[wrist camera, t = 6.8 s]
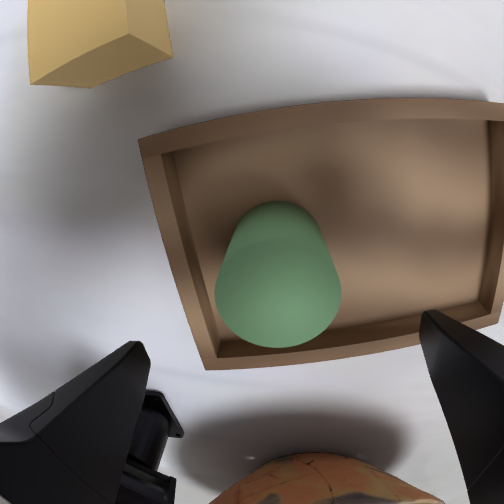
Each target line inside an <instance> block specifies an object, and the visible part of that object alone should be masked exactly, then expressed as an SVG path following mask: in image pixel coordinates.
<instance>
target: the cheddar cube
mask: <svg viewBox="0 0 504 504" xmlns="http://www.w3.org/2000/svg"><path fill="white" fill-rule="evenodd" d="M27 38H28V63H29V76H30V85H51V86H67V87H79V88H92V87H95V86H97V85H99V84H101V83H104V82H106V81H109V80H111V79H113V78H116V77H118V76H121V75H123V74H126V73H129V72H131V71H134V70H137V69H140V68H142V67H145V66H148V65H151V64H154V63H157V62H160V61H163V60H166V59H170V58H173V53H172V47H171V41H170V35H169V29H168V23H167V17H166V11H165V4H164V0H28V16H27Z"/></svg>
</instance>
